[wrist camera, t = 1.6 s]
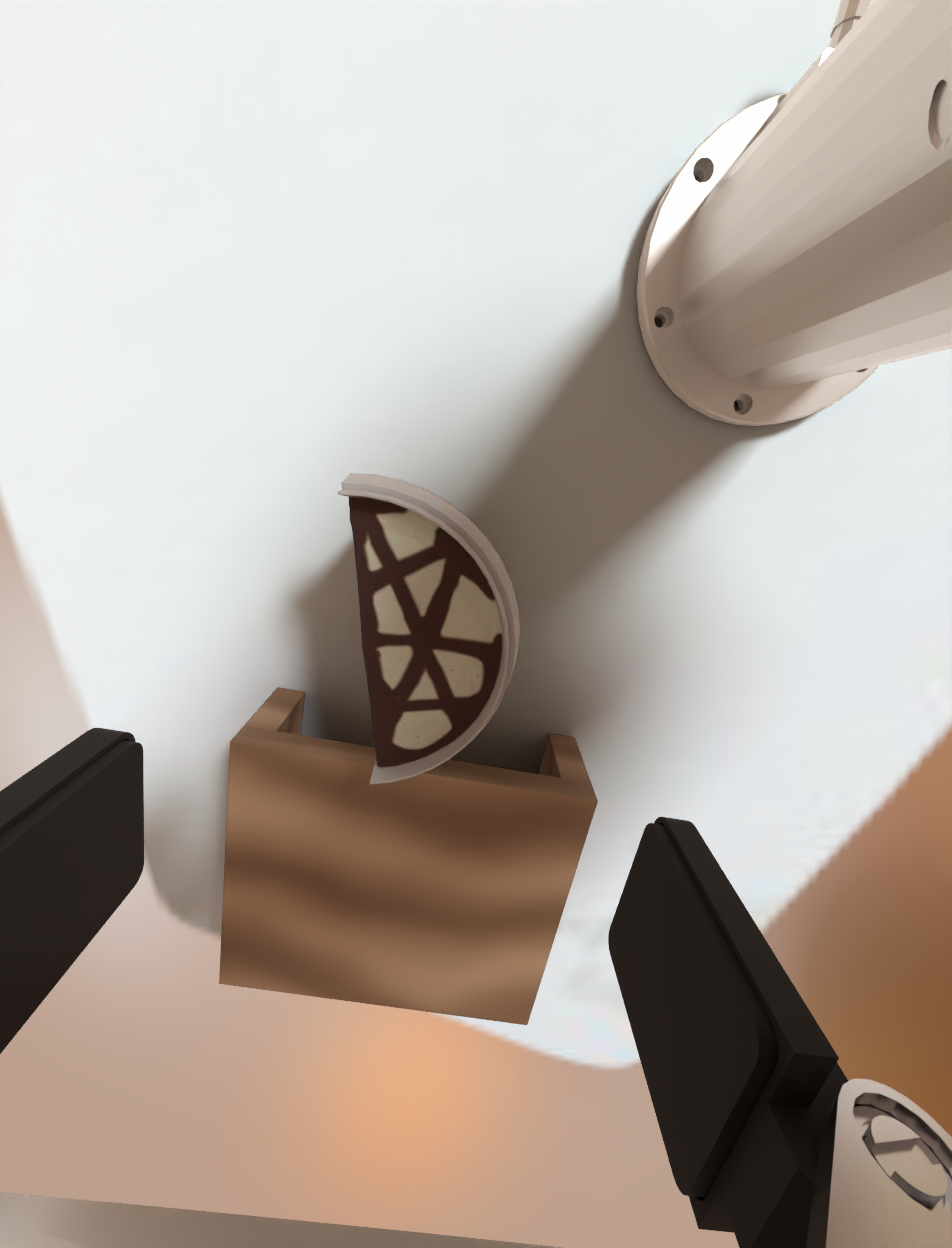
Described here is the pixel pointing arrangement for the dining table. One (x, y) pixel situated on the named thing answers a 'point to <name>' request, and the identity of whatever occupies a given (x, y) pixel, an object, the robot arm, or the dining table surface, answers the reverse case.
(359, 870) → the walnut shelf
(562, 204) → the dining table surface
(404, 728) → the food container
